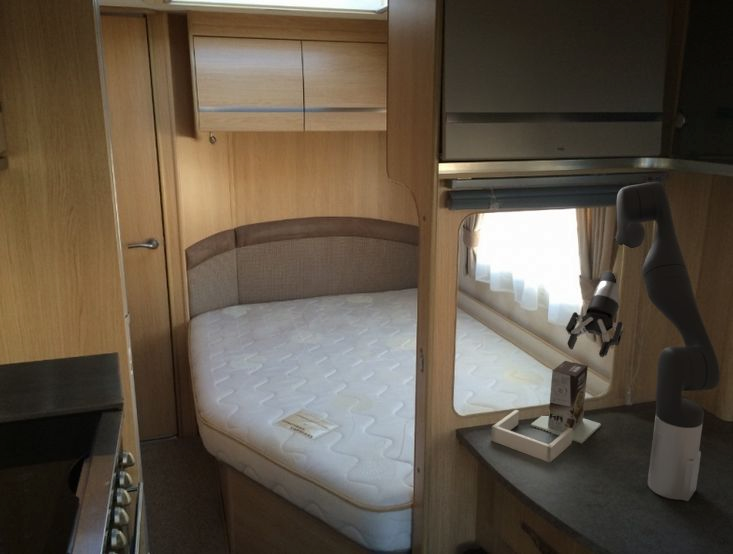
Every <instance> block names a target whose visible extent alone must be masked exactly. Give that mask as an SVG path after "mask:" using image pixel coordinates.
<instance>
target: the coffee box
mask: <svg viewBox="0 0 733 554" xmlns="http://www.w3.org/2000/svg"><path fill="white" fill-rule="evenodd" d="M588 367H589V366H588V365H586V364H583V363H578V362H572V361H569V360H564V361H562V362H561V363H560V364H559V365H558V366H556V367H555V368H554V369H552V372H551V374H552V375H551V383H550V394H549V395H550V397H549V409H548V411H549V419H548V427H550V428H553V429H556V430H559V431H563V432H564V431H566V430H567V429H568V428H572V429H573V430H574V429H575V428H576V427H577V426H578V425H579V424H580V423H581V422H582V421H583V418H584V413H585V401H586V400H585V399H586V389H587V381H588V380H587V379H588Z"/></svg>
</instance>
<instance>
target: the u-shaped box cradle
mask: <svg viewBox="0 0 733 554" xmlns="http://www.w3.org/2000/svg"><path fill="white" fill-rule="evenodd" d="M519 413H520V411H519V410H518V409H514V410H513V411H511V412H510V413H509V414H508V415H506V416H505V417H502V419H500V420H499V421H498V422H496V423H495V424H493V425H492V426H491V439H490V440H492V441H491V442H494V443H496V444H498V445H499V444H500V445H501V446H502V445H503V446H505V447H508V448H509V449H513V450H515V451H518V452H520V453H524V454H527V455H528V456H531V457H534V458H536V459H539V460H542V461H545V462H547V463H552V462H553V460H555V459H556V458H557V457H558V456H559V455H560V454H562V453H563V451H565V450H566V449H567V448H568V447H570V445H571V444H572V442H573V440H572V433H573V429H572V428H568V429H567V430H566V431H564V432H563V433H562V434H561V435H560V436H559V435H558V436H557V437H556V438H555V439H554V440H553V441H551V442H550V443H549V444H548V443H546V442H543V441H540V440H537V439H534V438H532V437H528V436H526V435H523V434H521V433H517V432H515V431H513V429H515V428H516V427H517V426H518V425H519V416H520V415H519Z"/></svg>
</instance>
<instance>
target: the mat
mask: <svg viewBox="0 0 733 554" xmlns="http://www.w3.org/2000/svg"><path fill="white" fill-rule="evenodd" d="M548 419H549V416H542V415H541V416H540V417H538V418H537V419H536V420H535V421H532V422H531V424H530V426H531V427H533V428H535V427H536V429H538V428H539V430H541V429H542V431H544V430H545V432H547V431H548V433H550V432H551V433H550V434H553V435H557V436H558V437H559V436H560V435H561V434H562V433H563V431H559V430H556V429H553V428H550V427H548ZM601 426H602V424H601V423H600V422H597V421H594V420H590V419H587V418H585V417H583V421H582V422H581V423H580V424H579V425H578V426H577V427H576V428H575V429H574V430H573V433H572V442H577V443H580V444H583V443H584V442H585V441H586V440H588V438H589V437H591V436H592V435H593V434H594V433H595V432H596V431H597V430H598V429H600V428H601Z"/></svg>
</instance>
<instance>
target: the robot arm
mask: <svg viewBox="0 0 733 554" xmlns="http://www.w3.org/2000/svg"><path fill="white" fill-rule="evenodd" d="M652 221H654V222H656V226H657V229H656V232H655V233H656V234H655V236H654V239H653V243H652V245H651V247H650V249H649V251H648V252H647V255H646V256H645V259H644V261H643V265H642V277H643V283H644V286H645V290H646V292H647V297H648V299H649V300H650V302H651V303H652V304H653V306H654V307H656V308H657V310H658V311H659V312H660V313H661V314H662V315H664V317H665V318H666V319H668V321H669V322H670V323H671V324H672V325H673V326H674V327H675V329H677V331H678V333H679V334H680V336H681V338H682V340H683V343H684V345H685V346H668V347H664V349H662V350H661V352H660V354H659V357H658V360H657V370H656V371H657V372H656V390H655V406H656V407H655V409H656V410H655V419H654V427H653V435H652V442H651V452H650V458H649V459H650V460H649V468H648V474H647V486H648V487H649V490H651V491H652V492H653V493H655V494H657V495H659V496H660V497H663V498H667V499H671V500H677V501H678V500H681V501H685V502H689V500H690V499H691V497H692V496H693V495H694V493H695V492H696V490H697V484H698V478H699V471H700V465H701V463H700V462H701V456H702V451H701V450H700V445H701V437H702V431H703V424H704V417H705V411H704V409H703V408H702V406H701V405H699V404H698V403H696V402H695V401H693V400H691V399H688V398H685V397H683V392H686V391H687V392H690V391H691V392H692V391H693V392H697V391H710V390H713V389H715V388H717V387H718V385H719V383H720V378H721V371H720V365H719V364H720V363H719V361H718V357H717V354H716V351H715V349H714V347H713V344H712V341H711V339H710V336H709V334H708V332H707V329H706V326H705V325H704V322H703V319H702V317H701V313H700V311H699V307H698V304H697V301H696V298H695V294H694V293H695V292H694V290H693V285H692V283H691V278H690V275H689V271H688V268H687V265H686V263H685V259H684V256H683V253H682V251H681V247H680V243H679V240H678V237H677V233H676V229H675V225H674V218H673V214H672V210H671V204H670V199H669V195H668V193H667V190H666V187H665V186H664V184H663V183H661V182H660V181H651V182H644V183H638V184H631V185H628V186H623V187H622V188H621V189H620V190H618V192H617V196H616V223H617V224H616V225H617V230H616V235H615V238H616V241H617V243H618V244H619V245H623V244H624V245H626V246H628V247H630V248H635V247H638V246H640V245H641V244H642V242H643V243H644V241H645V236H646V231H645V230H646V229H645V227H644V225H643V224H642V223H646V222H652ZM643 240H644V241H643ZM619 304H620V299H619V293H618V288H617V284H616V279H615V276H614V274H613V273H612V272H611V271H610V270H606V271H604V270H603V272H602V274H601V277H600V280H599V282H598V284H597V285H596V287H595V289H594V291H593V294H592V297H591V298H590V301H589V304H588V305H587V306H588V307H587V308H586V312H585V313H584V314H583V315H581V314H578V313H577V312H573V313H572V315H571V317H570V318H569V320H568V323H567V325H566V327H565V331H566V332H567V334H568V335H570V336H569V338H568V341H567V342H566V343H567V345H568V349H570V350H574V347H575V345H576V342H577V340H578V337H580V336H581V335H585V334H586V333H588V334H590V335H591V334H594V335H596V336H602V335H603V338H604V341H603V342H602V344H601V347H600V350H599V352H598V355H599V357H600V358H604V357H606V356H607V355H608V352H609V350H610V348H611V347H612V346H619V345H620V343H621V339H622V336H623V332H624V329H625V327H624V324H623V322H621V321H618V322H614V320H615V318H616V315H617V313H618V311H619V309H620V306H619ZM618 308H619V309H618ZM581 321H582V322H581ZM580 322H581V323H580ZM579 323H580V324H579ZM576 326H577V327H576ZM611 329H614V332H613V333H614V335H613V337H612V338H610V336H609V334H608V331H610V330H611Z"/></svg>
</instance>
